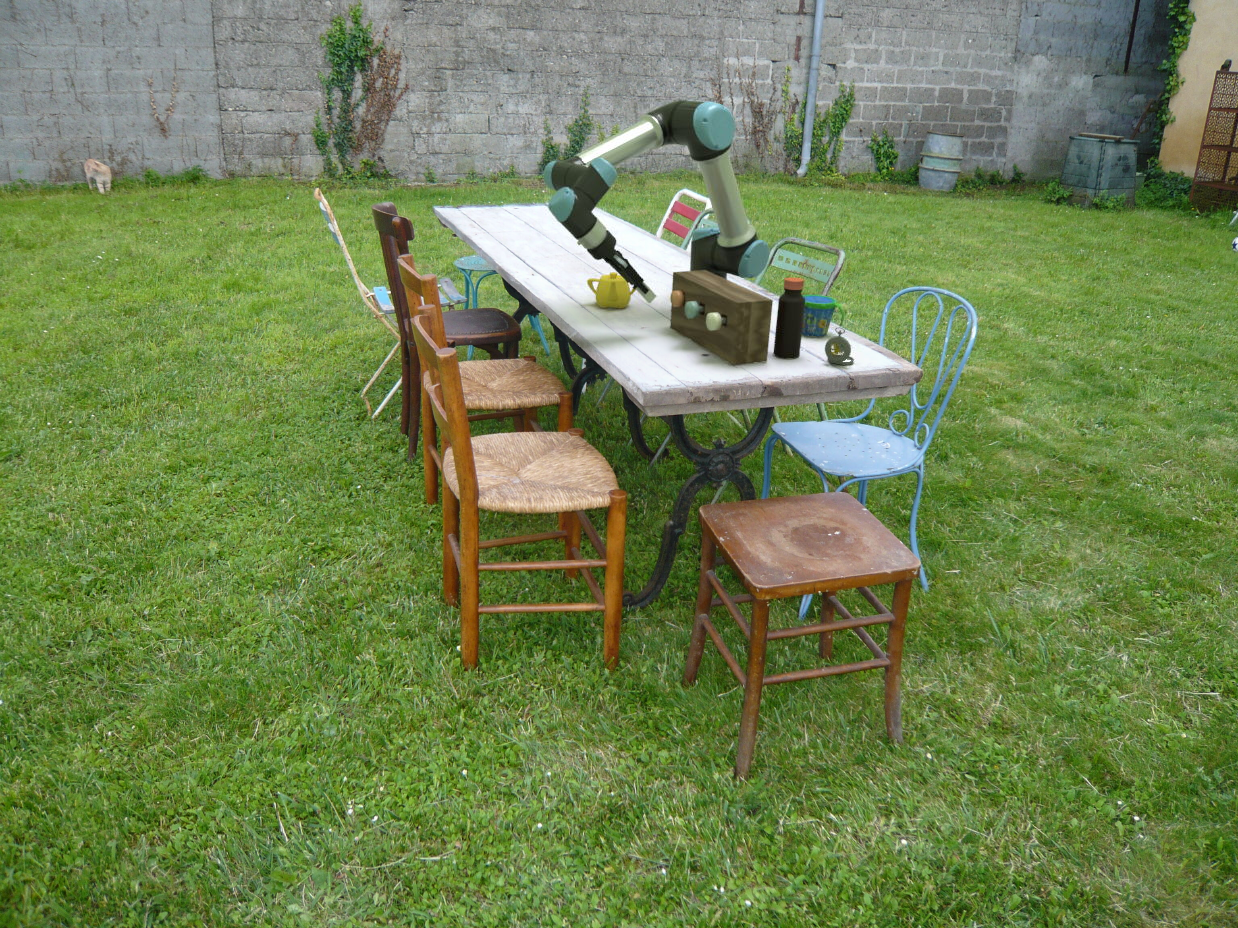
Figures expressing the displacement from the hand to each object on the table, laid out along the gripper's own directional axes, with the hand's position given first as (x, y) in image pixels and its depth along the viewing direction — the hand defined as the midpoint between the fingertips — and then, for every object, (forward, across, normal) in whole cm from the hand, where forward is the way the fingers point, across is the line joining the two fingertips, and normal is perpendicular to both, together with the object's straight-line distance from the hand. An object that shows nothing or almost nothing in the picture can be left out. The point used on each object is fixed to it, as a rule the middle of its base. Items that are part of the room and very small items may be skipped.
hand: (652, 299), depth 249 cm
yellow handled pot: (+10, -34, -6) cm, 36 cm away
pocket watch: (+33, +37, +18) cm, 53 cm away
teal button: (+7, +12, +4) cm, 14 cm away
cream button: (+7, +24, +4) cm, 25 cm away
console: (+17, +12, +2) cm, 21 cm away
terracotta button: (+8, 0, +5) cm, 10 cm away
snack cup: (+40, +12, +25) cm, 48 cm away
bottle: (+26, +27, +12) cm, 39 cm away
